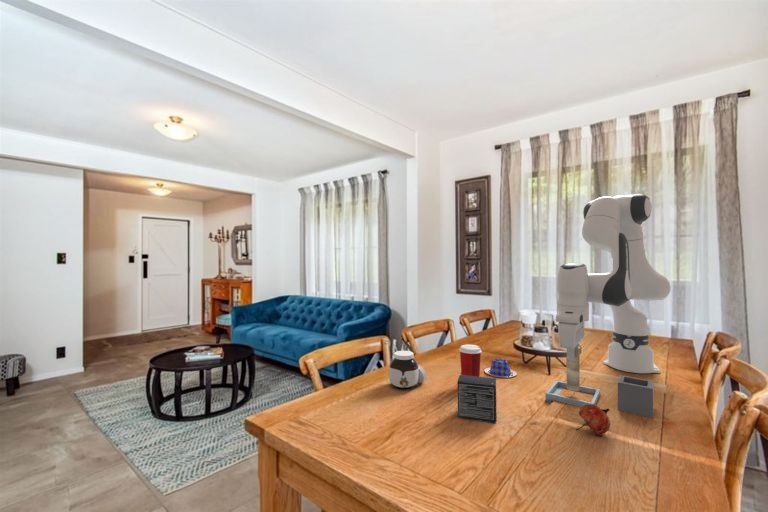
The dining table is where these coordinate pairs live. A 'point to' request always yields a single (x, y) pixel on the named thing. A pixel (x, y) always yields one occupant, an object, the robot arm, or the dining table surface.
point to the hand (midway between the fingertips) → (572, 357)
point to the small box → (477, 398)
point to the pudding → (500, 368)
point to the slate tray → (556, 389)
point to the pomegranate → (595, 419)
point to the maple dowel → (573, 372)
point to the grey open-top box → (635, 396)
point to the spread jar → (405, 371)
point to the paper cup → (470, 360)
